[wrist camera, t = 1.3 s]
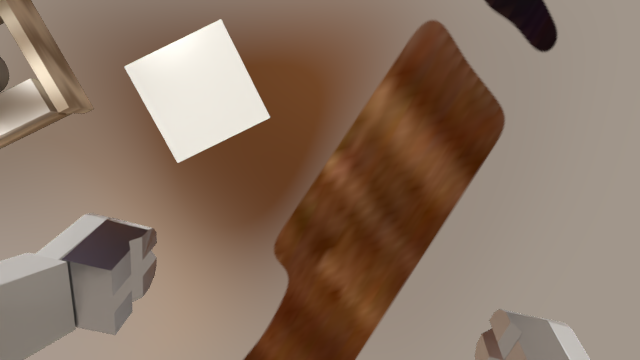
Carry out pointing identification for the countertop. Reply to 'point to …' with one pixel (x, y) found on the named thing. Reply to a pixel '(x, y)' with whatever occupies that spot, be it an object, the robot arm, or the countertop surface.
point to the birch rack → (44, 56)
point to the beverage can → (3, 75)
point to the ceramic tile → (198, 91)
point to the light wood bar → (25, 111)
